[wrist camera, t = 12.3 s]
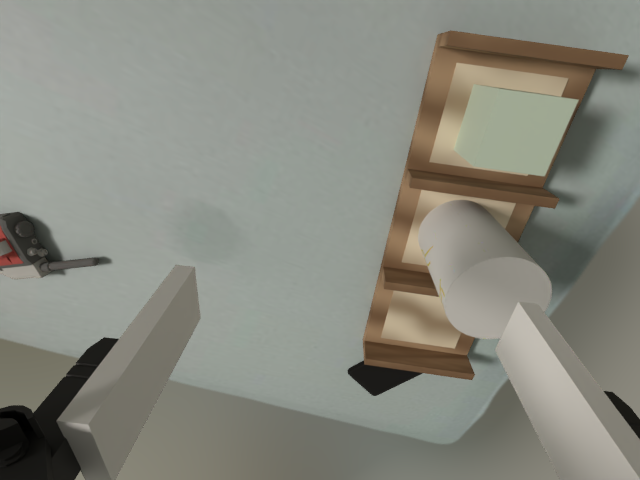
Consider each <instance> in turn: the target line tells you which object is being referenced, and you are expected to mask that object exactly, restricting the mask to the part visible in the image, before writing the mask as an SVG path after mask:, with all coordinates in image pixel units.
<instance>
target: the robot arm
mask: <svg viewBox="0 0 640 480" xmlns="http://www.w3.org/2000/svg"><path fill="white" fill-rule="evenodd" d="M199 320H200V309H199V301H198V292H197V283H196V275H195V267H190V266H181V265H175V267H174V268H173V269H172V271H171V272H170V273H169V275H168V276H167V277H166V279H165V280H164V281H163V282H162V284H161V285H160V286H159V288H158V289H157V290H156V292H155V293H154V294H153V295H152V297H151V298H150V299H149V301H148V302H147V303H146V305H145V306H144V307H143V309H142V310H141V311H140V312H139V314H138V315H137V316H136V318H135V319H134V320H133V322H132V323H131V324H130V325H129V327H128V328H127V329H126V331H125V332H124V333H123V335H122V336H121V337H120V339H113V338H103V339H101V340H100V341H98V342H97V343H95V344H94V345H93V346H91V347H90V348H88V349H87V350H86V352H85V353H84V354H83V355H82V356H81V357H80V359H79V360H78V361H77V362H76V365H75V366H73V367H72V368H71V369H70V371H69V372H68V373H67V375H66V377H64V378H63V379H62V380H61V381H60V382H59V384H58V385H57V386H56V387H55V388H54V389H53V391H52V392H51V393H50V394H49V396H48V397H47V398H46V399H45V400H44V401H43V402H42V404H41V405H40V406H39V407H38V408H37V410H36V411H35V412H34V413H32V411H31V409H29V408H27V407H25V406H8V407H5V408H1V409H0V480H74V479H75V478H76V476H77V475H78V473H79V472H80V470H81V472H82V474H83V476H84V478H85V480H115V479H116V478H117V476H118V474H119V472H120V470H121V468H122V466H123V464H124V462H125V460H126V458H127V457H128V455H129V453H130V451H131V449H132V447H133V445H134V443H135V442H136V440H137V438H138V436H139V434H140V432H141V430H142V428H143V426H144V424H145V422H146V421H147V419H148V417H149V415H150V413H151V411H152V409H153V407H154V405H155V403H156V402H157V400H158V398H159V396H160V394H161V392H162V390H163V388H164V386H165V384H166V382H167V381H168V379H169V377H170V375H171V373H172V371H173V369H174V367H175V366H176V364H177V362H178V360H179V358H180V356H181V354H182V352H183V350H184V348H185V347H186V345H187V343H188V341H189V339H190V337H191V335H192V333H193V331H194V329H195V328H196V326H197V324H198V322H199ZM495 351H496V353H497V355H498V357H499V359H500V361H501V363H502V365H503V367H504V369H505V371H506V373H507V375H508V377H509V379H510V381H511V383H512V385H513V387H514V389H515V391H516V393H517V395H518V397H519V399H520V401H521V403H522V405H523V407H524V409H525V411H526V413H527V415H528V417H529V419H530V421H531V423H532V425H533V427H534V429H535V431H536V433H537V435H538V437H539V439H540V441H541V443H542V445H543V447H544V449H545V451H546V453H547V455H548V457H549V459H550V461H551V463H552V465H553V467H554V469H555V471H556V473H557V475H558V477H559V479H560V480H640V419H639V418H638V417H637V415H636V414H635V413H634V412H633V410H632V409H631V408H630V407H629V406H628V405H627V404H626V403H625V402H623V401H622V400H621V399H620V398H619V397H617V396H616V395H615V394H614V393H613V392H607V391H603V390H602V389H601V387H600V386H599V385H598V383H597V382H596V381H595V379H594V378H593V377H592V375H591V374H590V373H589V371H588V370H587V369H586V367H585V366H584V365H583V363H582V362H581V361H580V359H579V358H578V357H577V356H576V354H575V353H574V352H573V350H572V349H571V348H570V346H569V345H568V344H567V342H566V341H565V340H564V338H563V337H562V336H561V334H560V333H559V332H558V331H557V329H556V328H555V326H554V325H553V324H552V322H551V321H550V320H549V318H548V317H547V316H546V314H545V313H544V312H543V310H542V309H541V308H540V306H539V305H538V304H536V303H527V302H518V303H517V305H516V308H515V310H514V312H513V314H512V316H511V318H510V320H509V322H508V324H507V326H506V328H505V330H504V332H503V334H502V336H501V338H500V341H499V343H498V345H497V347H496V349H495Z"/></svg>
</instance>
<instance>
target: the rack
mask: <svg viewBox="0 0 640 480" xmlns="http://www.w3.org/2000/svg"><path fill="white" fill-rule="evenodd" d="M628 56H629V55H622V54H615V53H608V52H601V51H593V50H586V49H579V48H572V47H565V46H557V45H550V44H543V43H536V42H529V41H522V40H514V39H507V38H500V37H493V36H486V35H478V34H471V33H464V32H457V31H448V32H445V33H441V34H438V35H437V39H436V44H435V48H434V52H433V56H432V60H431V64H430V68H429V72H428V76H427V80H426V84H425V88H424V93H423V97H422V101H421V105H420V109H419V113H418V117H417V121H416V125H415V129H414V133H413V137H412V142H411V146H410V150H409V154H408V158H407V162H406V166H405V170H404V174H403V178H402V182H401V186H400V190H399V195H398V199H397V203H396V207H395V211H394V215H393V219H392V223H391V227H390V231H389V235H388V239H387V244H386V248H385V252H384V256H383V260H382V264H381V268H380V272H379V276H378V280H377V284H376V288H375V293H374V297H373V301H372V305H371V309H370V313H369V317H368V321H367V325H366V329H365V333H364V337H363V350H364V364H365V365H372V366H379V367H386V368H393V369H400V370H406V371H413V372H420V373H427V374H434V375H441V376H448V377H455V378H462V379H469V380H472V379H473V377H474V375H475V374H474V372H473V369H472V367H471V364H470V362H469V359H468V357H467V354H468V352H469V350H470V348H471V345H472V343H473V341H474V339H475V337H472V336H469V335H466V334H464V333H462V332H460V331H459V330H457V329H456V328H455V327H454V326H453V325H452V324H451V323H450V321H449V320H448V318H447V316H446V313H445V311H444V308H443V305H442V303H441V300H440V298H439V295H438V292H437V290H436V287H435V285H434V282H433V280H432V277H431V274H430V272H429V269H428V267H427V264H426V262H425V259H424V256H423V254H422V251H421V249H420V246H419V242H418V232H419V228H420V225H421V223H422V221H423V220H424V218H425V217H426V216H427V214H428V213H429V212H431V211H432V210H433V209H434V208H436V207H437V206H439V205H441V204H443V203H446V202H449V201H453V200H469V201H473V202H476V203H478V204H480V205H482V206H483V207H484V208H485V209H486V210H487V211H488V212H489V213H490V214H491V215H492V216H493V217H494V218H495V219H496V220H497V221H498V222H499V223H500V224H501V225H502V227H503V228H504V229H505V230H506V231H507V232H508V233H509V234H510V235H511V236H512V237H513V238H514V239H515V240H516V241H517V243H518V241H519V239H520V237H521V234H522V232H523V230H524V228H525V226H526V223H527V221H528V219H529V217H530V214H531V212H532V210H533V208H534V206H541V207H548V208H555V207H556V205H557V203H558V201H559V198H558V197H556V196H555V195H553V194H551V193H550V192H548V191H547V190H545V189H544V188H543V186H544V183H545V181H546V179H547V177H548V174H549V172H550V170H551V168H552V166H553V163H554V161H555V159H556V157H557V154H558V152H559V150H560V148H561V146H562V143H563V141H564V139H565V137H566V135H567V132H568V130H569V128H570V126H571V123H572V121H573V119H574V117H575V115H576V112H577V110H578V108H579V106H580V103H581V101H582V99H583V97H584V95H585V92H586V90H587V88H588V86H589V83H590V81H591V79H592V77H593V75H594V72H595V70H596V69H617V70H622V69H623V67H624V64H625V62H626V60H627V58H628ZM474 84H476V85H483V86H490V87H497V88H505V89H512V90H519V91H526V92H533V93H540V94H546V95H552V96H558V97H565V98H571V99H577V100H579V101H578V103H577V105H576V107H575V109H574V112H573V114H572V116H571V118H570V121H569V123H568V125H567V127H566V130H565V132H564V134H563V136H562V139H561V141H560V143H559V145H558V148H557V150H556V152H555V154H554V157H553V159H552V161H551V163H550V166H549V168H548V170H547V172H546V174H545V176H538V175H531V174H523V173H516V172H509V171H502V170H495V169H488V168H481V167H474V166H472V165H471V164H470V163H469V162H467V161H466V160H465V159H464V158H463V157H461V156H460V155H459V154H458V153H457V152H455V151H454V147H455V144H456V141H457V137H458V134H459V131H460V127H461V124H462V121H463V118H464V114H465V111H466V108H467V105H468V101H469V98H470V95H471V91H472V88H473V85H474Z"/></svg>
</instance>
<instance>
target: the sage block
mask: <svg viewBox="0 0 640 480" xmlns="http://www.w3.org/2000/svg"><path fill="white" fill-rule="evenodd" d="M578 101H579V100H577V99H571V98H565V97H558V96H552V95H546V94H540V93H533V92H526V91H519V90H512V89H505V88H497V87H490V86H483V85H476V84H474V85H473V88H472V91H471V95H470V98H469V101H468V105H467V108H466V111H465V114H464V118H463V121H462V124H461V127H460V131H459V134H458V137H457V141H456V144H455V147H454V151H455V152H457V153H458V154H459V155H460V156H461V157H463V158H464V159H465V160H466V161H467V162H469V163H470V164H471V165H472V166H474V167H481V168H488V169H495V170H502V171H509V172H516V173H523V174H531V175H538V176H545V174H546V172H547V170H548V168H549V166H550V163H551V161H552V159H553V157H554V154H555V152H556V150H557V148H558V145H559V143H560V141H561V139H562V136H563V134H564V132H565V130H566V127H567V125H568V123H569V121H570V118H571V116H572V114H573V112H574V109H575V107H576V105H577V103H578Z"/></svg>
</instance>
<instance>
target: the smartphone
mask: <svg viewBox="0 0 640 480" xmlns="http://www.w3.org/2000/svg"><path fill="white" fill-rule="evenodd" d="M348 374H349V375H350V376H351V377H352V378H353V379H355V380H356V381H357V382H358V383H359V384H360V385H361V386H362V387H364V388H365V389H366V390H367V391H368V392H369V393H370V394H372V395H373V396H376V395H379V394H381V393H383V392H385V391H387V390H389V389H391V388H393V387H395V386H397V385H399V384H402V383H404V382H406V381H408V380H410V379H412V378H414V377H416V376H418V375H420V374H422V373H420V372H413V371H406V370H400V369H393V368H386V367H379V366H372V365H365V364H364V361H362V362H360V363H358V364H357V365H355V366H353V367H351V368H349V369H348Z"/></svg>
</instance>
